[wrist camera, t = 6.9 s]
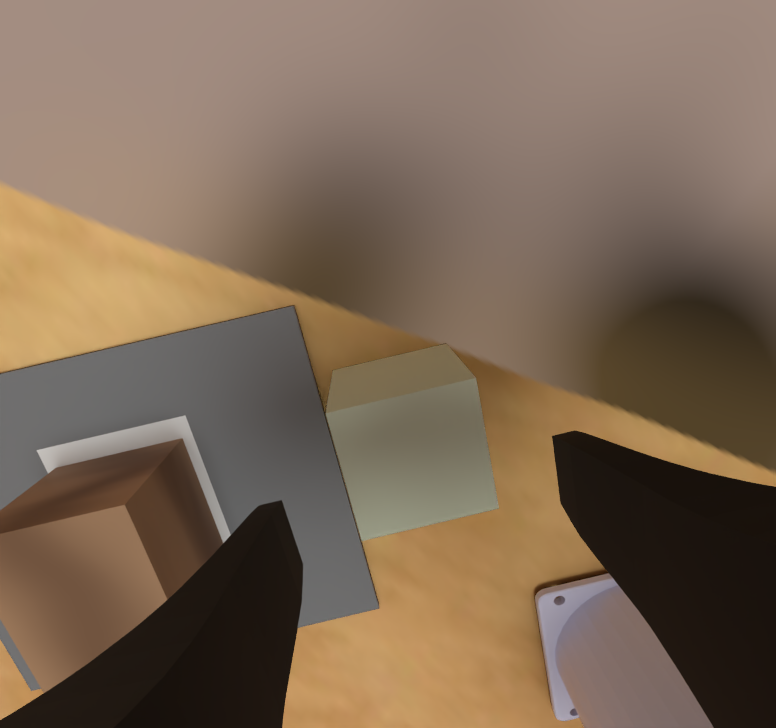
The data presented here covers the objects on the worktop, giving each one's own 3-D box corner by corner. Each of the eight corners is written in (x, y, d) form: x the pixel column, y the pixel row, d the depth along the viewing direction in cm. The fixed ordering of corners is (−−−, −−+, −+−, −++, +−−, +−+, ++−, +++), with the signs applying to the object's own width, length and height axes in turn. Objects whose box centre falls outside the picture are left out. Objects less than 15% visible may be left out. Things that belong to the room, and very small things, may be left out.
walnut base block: (182, 437, 17) (124, 504, 13) (238, 582, 19) (204, 682, 15) (56, 467, 17) (-45, 543, 13) (125, 609, 19) (58, 717, 15)
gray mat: (293, 305, 16) (293, 306, 16) (378, 604, 20) (379, 608, 20) (-134, 404, 16) (-139, 406, 16) (34, 686, 20) (31, 690, 20)
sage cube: (445, 343, 17) (475, 377, 13) (465, 445, 19) (498, 508, 14) (332, 369, 17) (325, 413, 13) (360, 470, 19) (361, 541, 14)
